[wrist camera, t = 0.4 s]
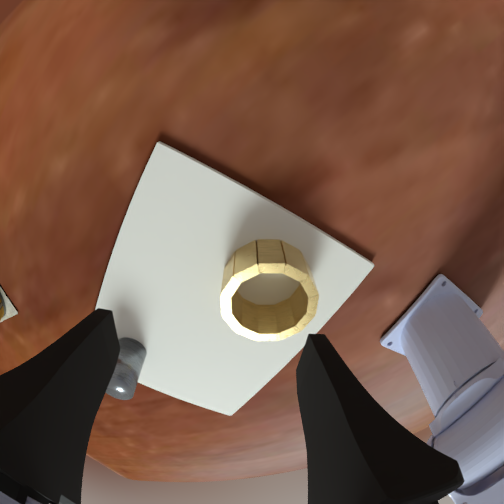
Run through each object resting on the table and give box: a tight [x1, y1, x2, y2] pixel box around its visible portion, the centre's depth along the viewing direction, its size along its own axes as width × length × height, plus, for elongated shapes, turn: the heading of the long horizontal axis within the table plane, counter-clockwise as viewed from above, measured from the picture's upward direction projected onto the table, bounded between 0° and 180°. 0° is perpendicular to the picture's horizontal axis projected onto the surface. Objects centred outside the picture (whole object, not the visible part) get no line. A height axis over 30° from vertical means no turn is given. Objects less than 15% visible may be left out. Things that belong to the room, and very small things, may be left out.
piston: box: [106, 337, 147, 400], centre depth 21 cm, size 3×3×4 cm
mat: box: [95, 141, 375, 416], centre depth 22 cm, size 16×21×1 cm
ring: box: [220, 239, 319, 341], centre depth 18 cm, size 6×6×3 cm
